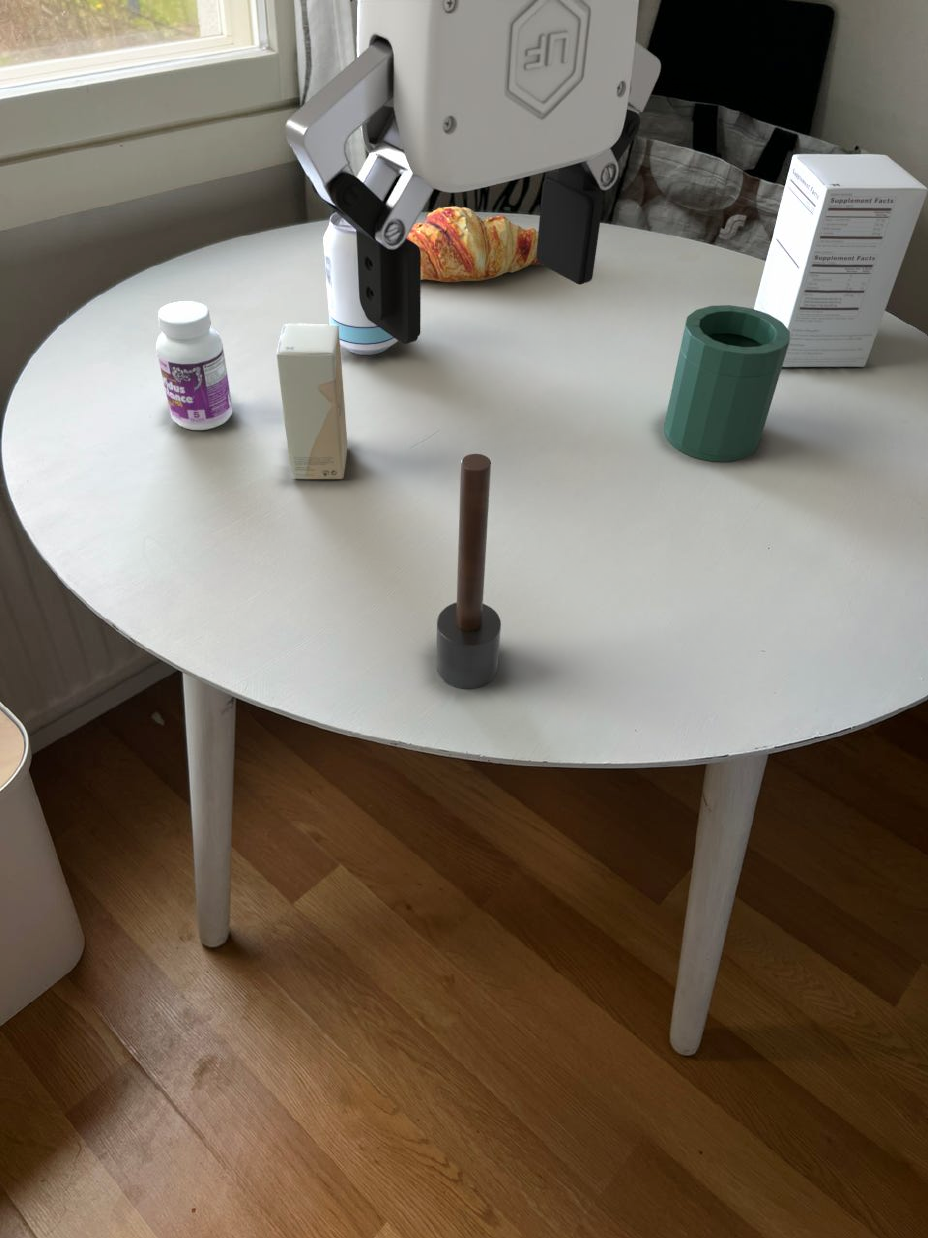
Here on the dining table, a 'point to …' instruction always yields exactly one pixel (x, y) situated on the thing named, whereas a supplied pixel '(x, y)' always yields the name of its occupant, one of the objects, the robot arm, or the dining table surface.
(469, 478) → the dowel with disc base
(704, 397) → the jar
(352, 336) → the beverage can
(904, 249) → the supplement box
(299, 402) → the box
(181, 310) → the pill bottle
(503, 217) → the croissant
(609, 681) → the dining table surface
